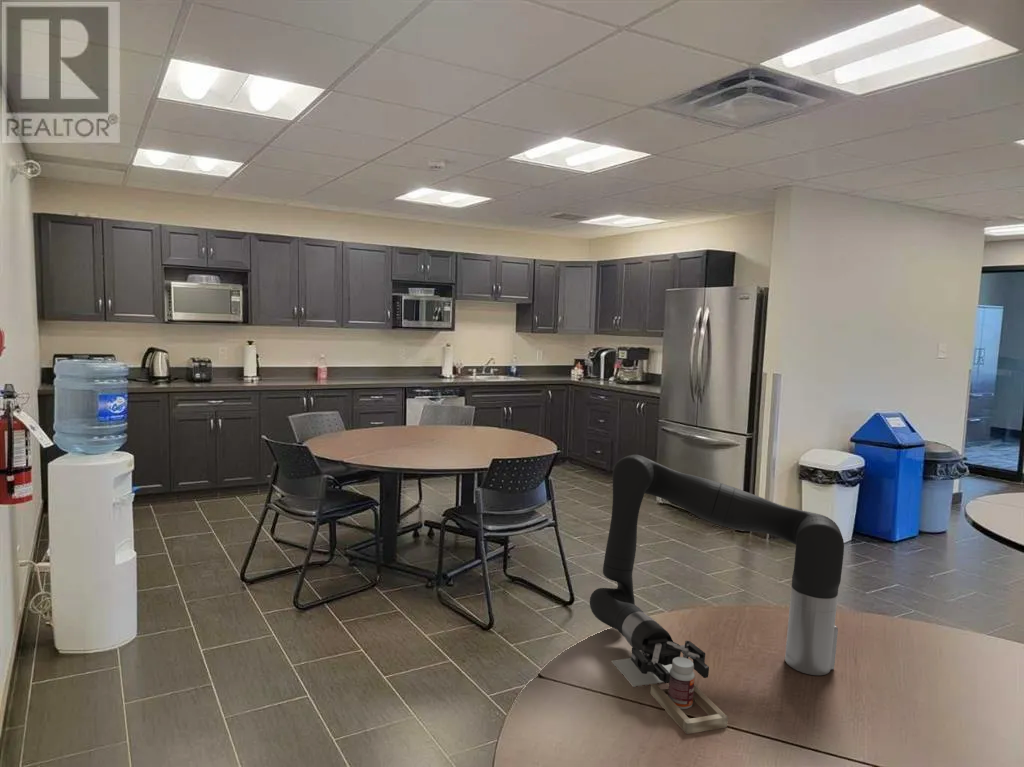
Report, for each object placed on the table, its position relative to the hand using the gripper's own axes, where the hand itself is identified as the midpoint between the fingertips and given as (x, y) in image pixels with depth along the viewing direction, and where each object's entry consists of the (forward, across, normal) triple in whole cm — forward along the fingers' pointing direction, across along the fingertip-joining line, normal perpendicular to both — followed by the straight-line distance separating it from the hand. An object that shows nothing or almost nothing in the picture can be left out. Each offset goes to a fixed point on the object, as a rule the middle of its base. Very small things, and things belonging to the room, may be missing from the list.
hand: (687, 676), depth 125 cm
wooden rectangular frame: (+1, 0, +6) cm, 7 cm away
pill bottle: (-2, 0, +7) cm, 7 cm away
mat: (-14, 0, +6) cm, 15 cm away
